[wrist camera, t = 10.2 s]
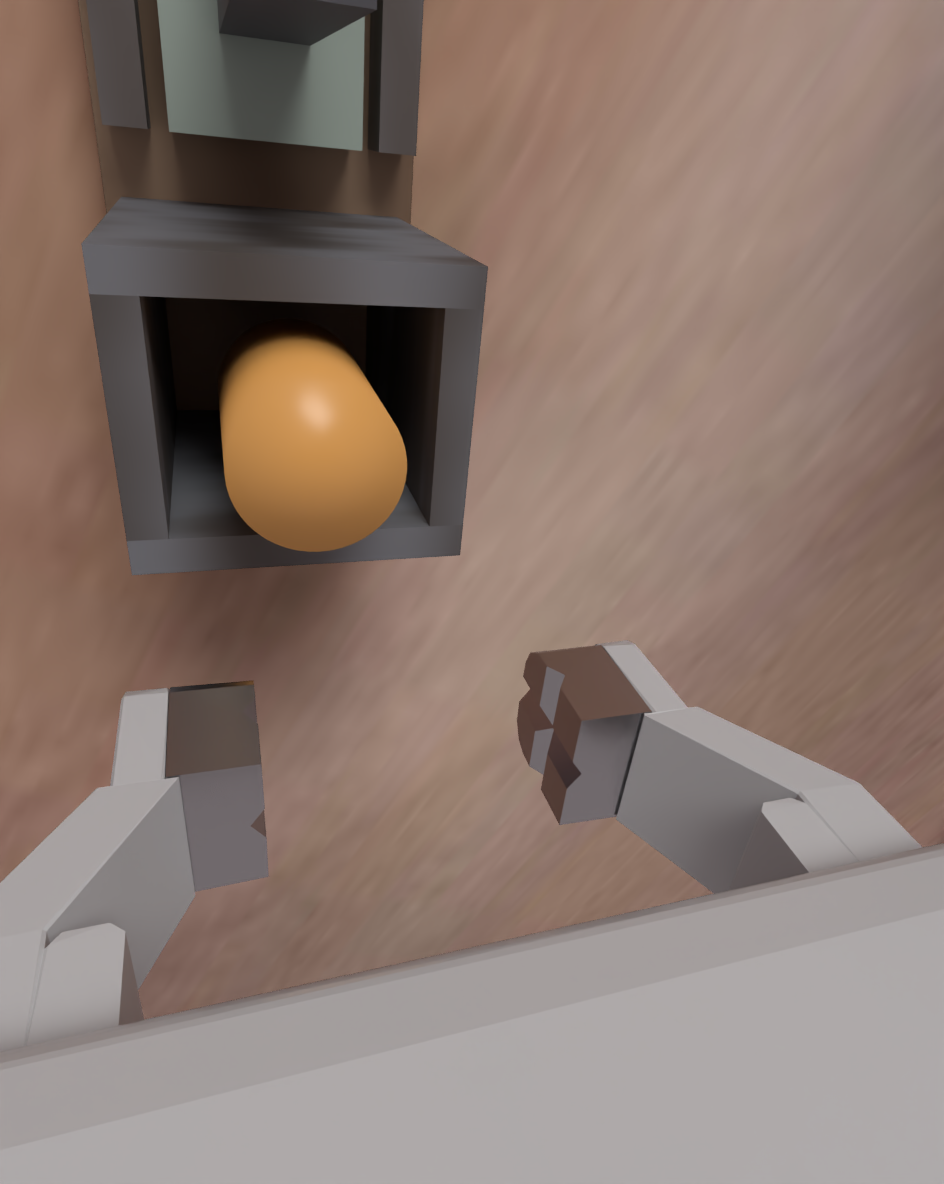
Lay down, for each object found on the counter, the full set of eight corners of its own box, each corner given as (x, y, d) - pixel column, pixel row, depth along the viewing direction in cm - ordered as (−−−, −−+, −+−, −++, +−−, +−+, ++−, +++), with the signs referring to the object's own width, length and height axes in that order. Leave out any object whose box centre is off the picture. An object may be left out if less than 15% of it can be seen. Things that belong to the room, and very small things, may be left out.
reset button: (363, 320, 21) (411, 382, 17) (360, 456, 23) (402, 547, 19) (212, 315, 20) (217, 381, 15) (223, 458, 22) (230, 556, 17)
